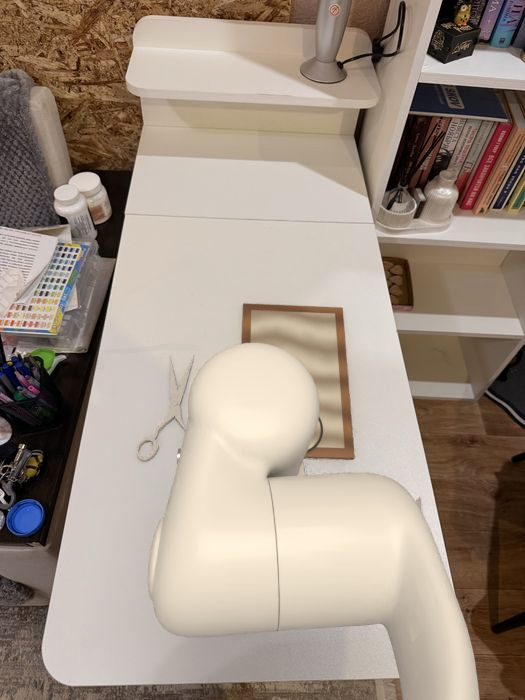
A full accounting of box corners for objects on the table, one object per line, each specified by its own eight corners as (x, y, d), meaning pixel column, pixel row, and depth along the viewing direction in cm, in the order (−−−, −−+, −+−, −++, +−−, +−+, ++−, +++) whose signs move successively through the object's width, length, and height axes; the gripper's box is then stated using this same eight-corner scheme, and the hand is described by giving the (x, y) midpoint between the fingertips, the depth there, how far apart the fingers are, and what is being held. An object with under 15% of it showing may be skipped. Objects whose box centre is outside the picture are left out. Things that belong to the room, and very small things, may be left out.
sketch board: (353, 459, 79) (355, 457, 78) (237, 456, 78) (237, 454, 77) (341, 309, 93) (342, 306, 92) (243, 305, 92) (243, 302, 91)
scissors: (133, 469, 76) (149, 351, 85) (133, 470, 76) (150, 353, 86) (205, 471, 76) (213, 353, 86) (205, 472, 77) (213, 356, 86)
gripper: (128, 510, 36) (159, 551, 52) (362, 516, 37) (322, 555, 52) (142, 411, 40) (167, 477, 56) (354, 418, 40) (319, 482, 56)
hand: (242, 515), depth 54 cm, fingers closed on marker, 3 cm apart
